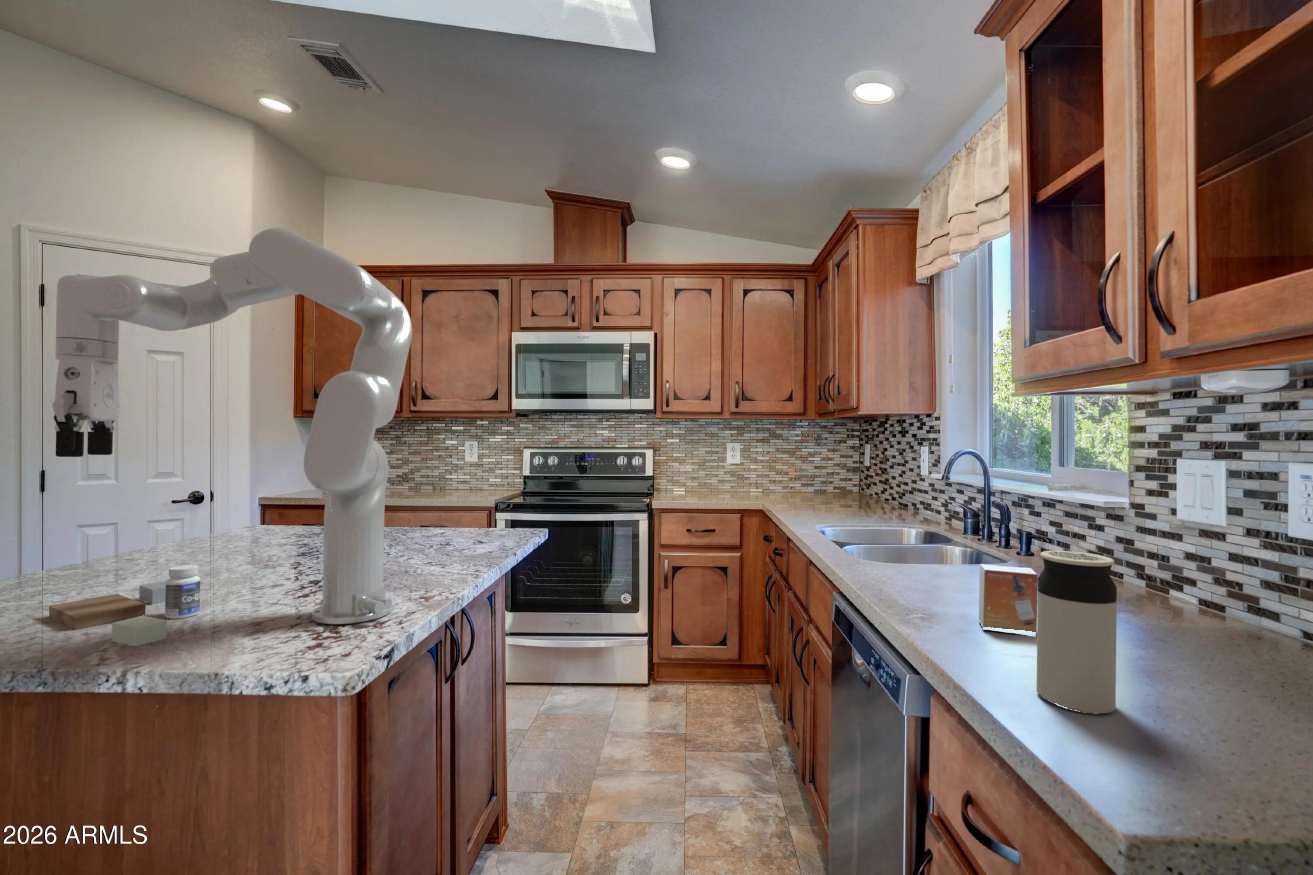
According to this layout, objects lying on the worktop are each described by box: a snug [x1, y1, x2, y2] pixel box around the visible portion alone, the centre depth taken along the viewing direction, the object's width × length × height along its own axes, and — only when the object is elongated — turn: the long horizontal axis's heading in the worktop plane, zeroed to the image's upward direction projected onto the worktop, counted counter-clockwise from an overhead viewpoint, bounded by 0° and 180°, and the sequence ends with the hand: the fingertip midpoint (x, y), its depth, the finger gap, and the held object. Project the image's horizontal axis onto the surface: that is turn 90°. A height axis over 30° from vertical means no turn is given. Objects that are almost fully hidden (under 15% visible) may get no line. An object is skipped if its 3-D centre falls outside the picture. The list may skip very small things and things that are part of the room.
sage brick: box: [111, 615, 168, 647], centre depth 90 cm, size 6×4×3 cm, turn 69°
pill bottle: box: [164, 564, 201, 620], centre depth 103 cm, size 5×5×8 cm
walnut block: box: [48, 593, 147, 630], centre depth 101 cm, size 12×9×2 cm
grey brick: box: [138, 580, 167, 605], centre depth 112 cm, size 6×4×3 cm, turn 59°
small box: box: [978, 563, 1039, 632], centre depth 101 cm, size 8×6×10 cm
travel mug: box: [1036, 550, 1118, 714], centre depth 73 cm, size 8×8×18 cm
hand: (85, 455), depth 98 cm, fingers open, 9 cm apart
